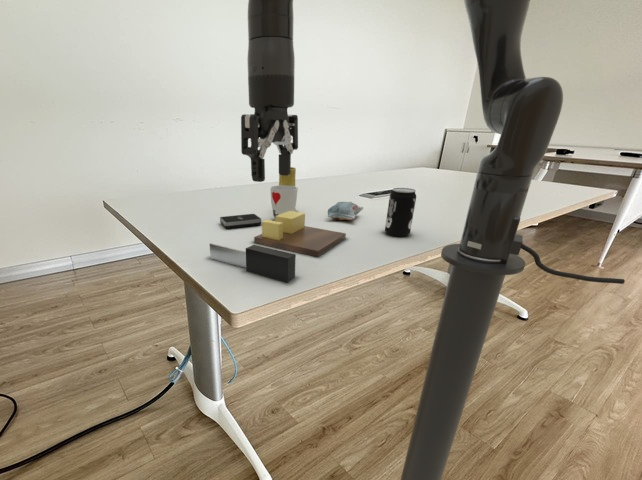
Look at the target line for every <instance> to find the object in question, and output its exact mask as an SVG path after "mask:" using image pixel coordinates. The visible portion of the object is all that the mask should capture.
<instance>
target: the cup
mask: <svg viewBox="0 0 642 480" xmlns="http://www.w3.org/2000/svg"><path fill="white" fill-rule="evenodd" d="M269 189H270V203H271V210H272V214H273V218H274V221H276V216H277V215H280V214H282V213H285V212H288V211H295V210H296V206H297V200H298V189H299V188H298V187H297V186H296V185H295V186H285V185H280V186H279V185H273V186H270V188H269Z"/></svg>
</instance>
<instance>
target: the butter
mask: <svg viewBox="0 0 642 480" xmlns="http://www.w3.org/2000/svg"><path fill="white" fill-rule="evenodd" d="M276 222H282V223H283V232H285V233H290V234H292V233H294V232H296V231H298V230H300V229H302V228H304V227H305V226H306V225H305V223H306V213H305V212H299V211H296V212H294V211H288V212H285V213H282V214H280V215H277V216H276Z"/></svg>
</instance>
